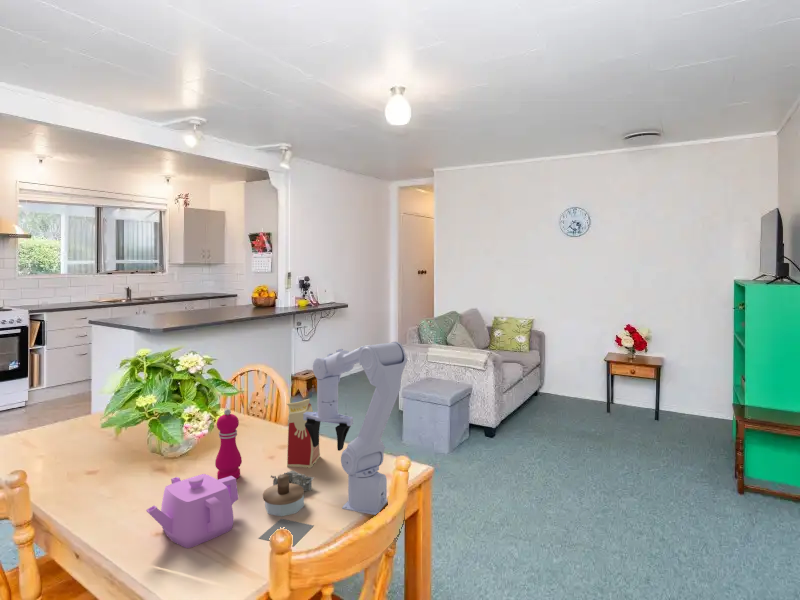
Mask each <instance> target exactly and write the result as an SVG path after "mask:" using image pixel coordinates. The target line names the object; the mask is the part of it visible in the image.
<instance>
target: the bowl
mask: <svg viewBox="0 0 800 600" xmlns="http://www.w3.org/2000/svg"><path fill="white" fill-rule="evenodd" d="M304 506H305V494H304V495H303V497H302V498H301V499H299V500H298V501H296V502H293V503H290V504H285V505H273V504H269V503H267V502H265V501H264V507H265V510H266V512H267V514H268V515H272V516H277V517H284V516H288V515H293V514H295V515H296V514H297V513H298V512H299V511H300V510H301V509H303V508H304Z"/></svg>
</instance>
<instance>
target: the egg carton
mask: <svg viewBox="0 0 800 600" xmlns="http://www.w3.org/2000/svg"><path fill="white" fill-rule="evenodd" d="M283 474H287V475H289V482H291V483H293V484H297V485H300V486H301V487H302V488H303V489H304V492H305V491H312V481H313V480H314V478H315V477H314V476H308V475H306V474H305V473H304V474H302V473H299V472H297V471H295V470H288V471H287V472H284V473H283ZM270 478H272V484H273V485H272V486H274V485H277V484H278V477H277V476H276V475H270Z"/></svg>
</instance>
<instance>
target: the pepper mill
mask: <svg viewBox="0 0 800 600" xmlns="http://www.w3.org/2000/svg"><path fill="white" fill-rule="evenodd" d="M223 412H224V414H222V415H220V416H219V417H218V418H217V421H216V428H217V429H218V438H219V439H220V445H219V449H218V452H217V454H216V457H215V465H214V466H215V468H216V469H217V472H216V474H217V475H216V476H217V478H216V479H217V480H219V479H222V478H225V477H229V476H233V477H234V478H236V480H237V479H239V478H240V476H241V468H240V466H241V465H242V463H243V462H242V461H243V460H242V459H243V458H242V456H241V453H240V450H239V448H238V446H237V442H236V440H237V439H236V437H237V435H238V430H237V429H238V427H239V425H240V422H239V418H238V416H237V415H236V414H233V413H231V412H232V411H231V409H229V408H226V409H224V411H223Z"/></svg>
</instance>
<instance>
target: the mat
mask: <svg viewBox="0 0 800 600" xmlns="http://www.w3.org/2000/svg"><path fill="white" fill-rule="evenodd" d="M314 526H315V525H314V524H309V523H304V522H301V521H300V522H299V521H294V520H289V519H286V518H284V519H283V518H280V519H278V520H277V521H276V522H275V523H274V524H273V525H271V526H270V527H269V528H268V529H267V530H265V532H264V533H262V535H260V536H259V537H258V538H257V539H259V540H263V541H268V542H270V541H269V538H270V536H271V535H272V534H273V533H274V532H275V531H276V530H277V529H280V527H281V528H283V527H285V528H284V529H287V530H289V531H290V532H291V534H292V535H293V546H292V547H295V545H297V543H298V542H299V541H301V540H302V538H303V537H305V535H307V533H308V532H309V531H310V530H311V529H312V528H313V527H314Z"/></svg>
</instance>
